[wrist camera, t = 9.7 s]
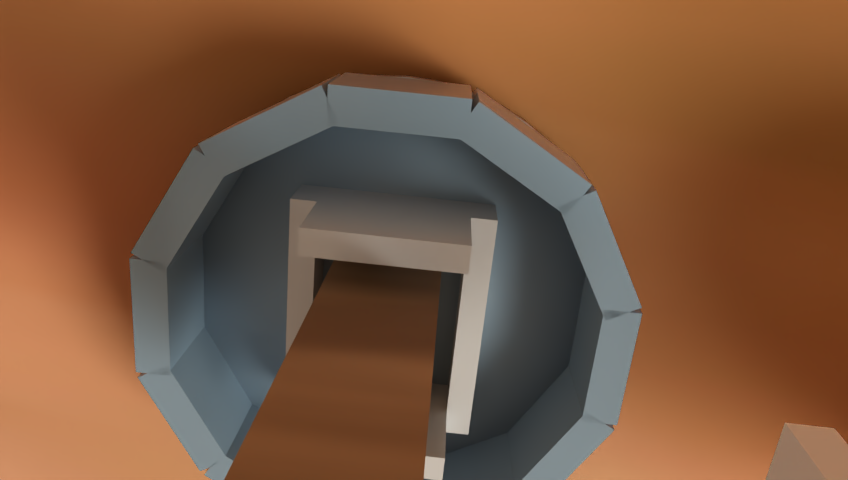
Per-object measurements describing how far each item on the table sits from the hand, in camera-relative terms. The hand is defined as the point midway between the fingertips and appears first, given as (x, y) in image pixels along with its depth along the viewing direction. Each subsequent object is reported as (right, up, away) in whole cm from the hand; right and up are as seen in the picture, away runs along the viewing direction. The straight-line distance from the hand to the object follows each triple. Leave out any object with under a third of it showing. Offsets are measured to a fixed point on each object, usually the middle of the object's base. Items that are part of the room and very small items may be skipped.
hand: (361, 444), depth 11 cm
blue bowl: (0, +2, +7) cm, 7 cm away
